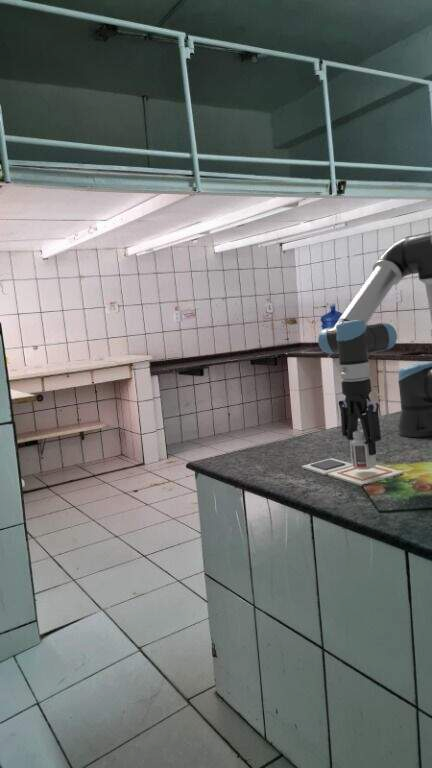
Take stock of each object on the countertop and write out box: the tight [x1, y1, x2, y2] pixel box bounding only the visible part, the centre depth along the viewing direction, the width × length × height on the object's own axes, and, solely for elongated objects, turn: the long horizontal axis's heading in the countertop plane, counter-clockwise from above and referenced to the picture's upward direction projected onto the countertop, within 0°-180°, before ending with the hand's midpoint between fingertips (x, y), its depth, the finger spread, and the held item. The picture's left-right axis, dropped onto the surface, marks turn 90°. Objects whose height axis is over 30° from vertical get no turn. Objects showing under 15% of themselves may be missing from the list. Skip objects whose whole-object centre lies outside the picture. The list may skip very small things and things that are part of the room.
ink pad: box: [300, 457, 353, 476], centre depth 163 cm, size 11×11×1 cm
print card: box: [327, 464, 404, 487], centre depth 152 cm, size 14×14×1 cm
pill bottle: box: [351, 429, 373, 470], centre depth 151 cm, size 5×5×10 cm
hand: (363, 464), depth 151 cm, fingers closed on pill bottle, 5 cm apart
